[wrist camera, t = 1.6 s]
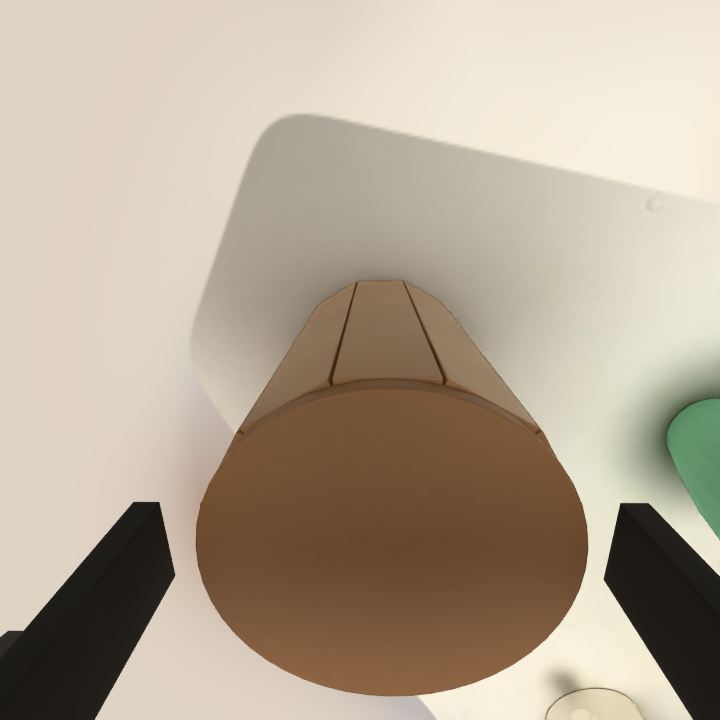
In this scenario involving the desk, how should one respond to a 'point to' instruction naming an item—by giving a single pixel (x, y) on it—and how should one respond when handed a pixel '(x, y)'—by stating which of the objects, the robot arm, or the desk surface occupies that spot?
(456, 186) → the desk surface
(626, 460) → the desk surface
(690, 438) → the mug
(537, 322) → the desk surface
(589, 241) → the desk surface
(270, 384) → the round wooden block
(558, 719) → the mug
